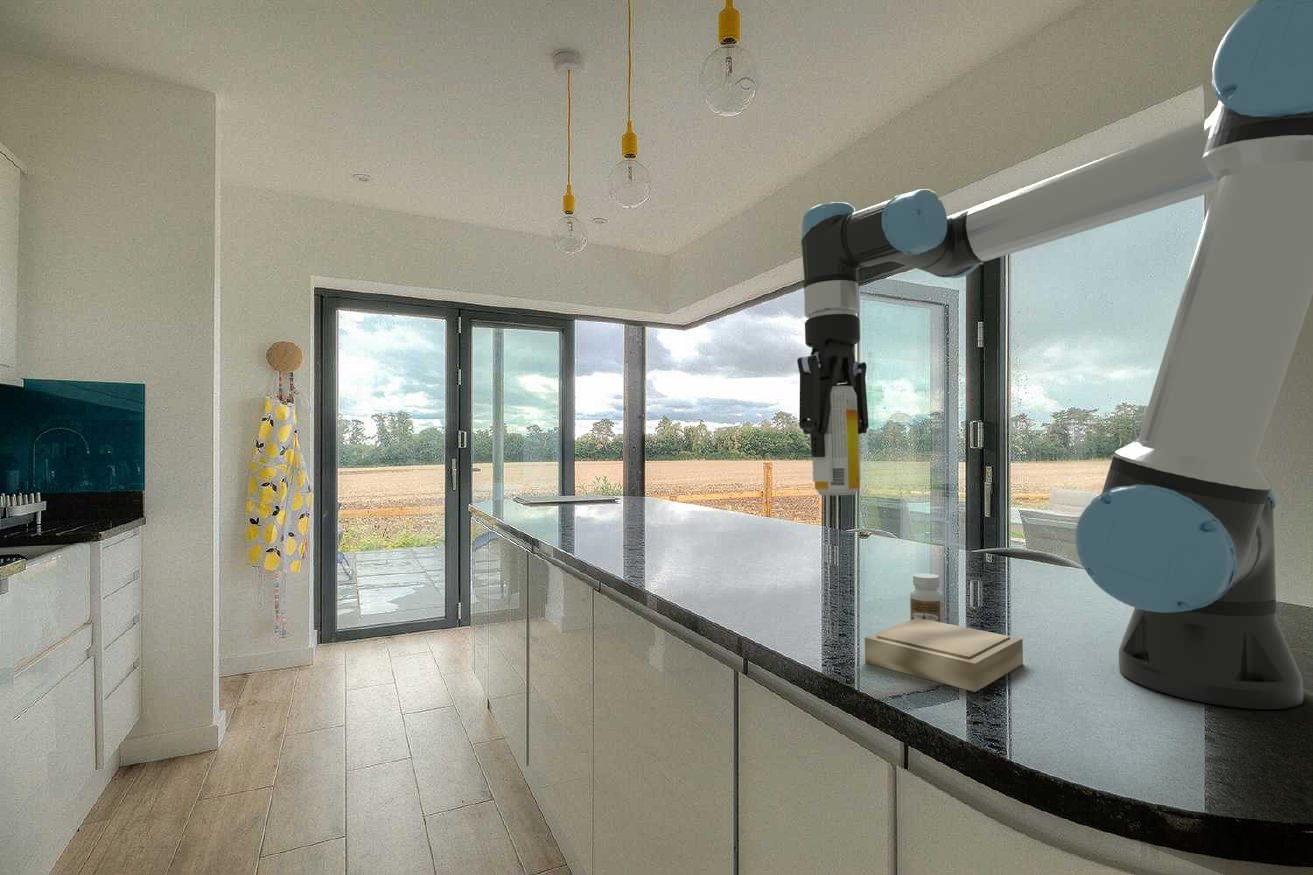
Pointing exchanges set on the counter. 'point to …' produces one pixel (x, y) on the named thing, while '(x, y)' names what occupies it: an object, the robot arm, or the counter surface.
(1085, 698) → the counter surface
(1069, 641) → the counter surface
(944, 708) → the counter surface
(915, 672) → the podium
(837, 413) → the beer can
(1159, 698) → the counter surface
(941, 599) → the pill bottle
